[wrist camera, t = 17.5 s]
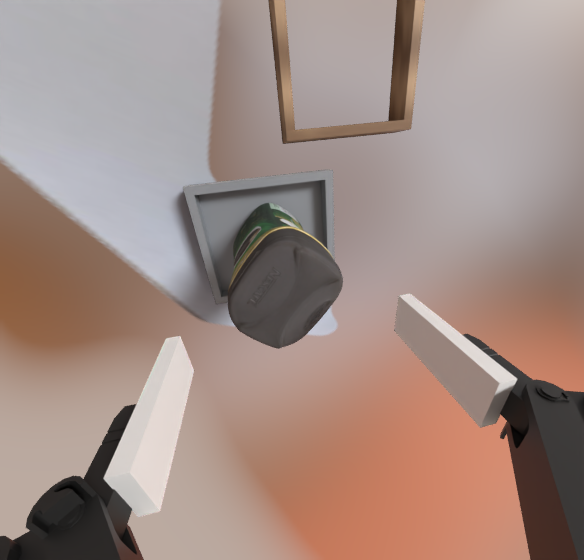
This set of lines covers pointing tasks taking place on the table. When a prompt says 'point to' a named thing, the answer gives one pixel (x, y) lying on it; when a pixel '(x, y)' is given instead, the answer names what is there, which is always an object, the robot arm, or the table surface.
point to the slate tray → (243, 201)
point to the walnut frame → (401, 81)
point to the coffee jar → (280, 278)
